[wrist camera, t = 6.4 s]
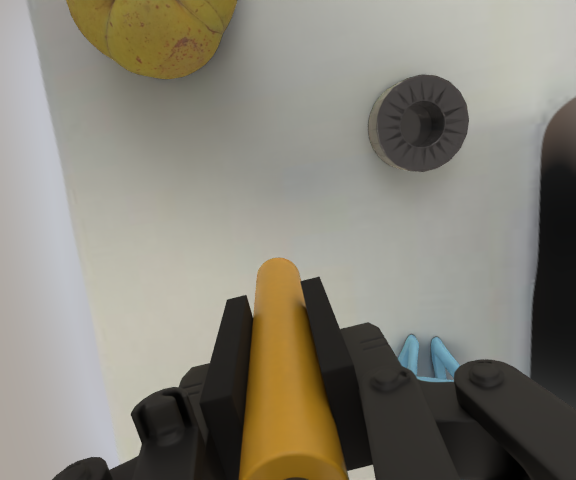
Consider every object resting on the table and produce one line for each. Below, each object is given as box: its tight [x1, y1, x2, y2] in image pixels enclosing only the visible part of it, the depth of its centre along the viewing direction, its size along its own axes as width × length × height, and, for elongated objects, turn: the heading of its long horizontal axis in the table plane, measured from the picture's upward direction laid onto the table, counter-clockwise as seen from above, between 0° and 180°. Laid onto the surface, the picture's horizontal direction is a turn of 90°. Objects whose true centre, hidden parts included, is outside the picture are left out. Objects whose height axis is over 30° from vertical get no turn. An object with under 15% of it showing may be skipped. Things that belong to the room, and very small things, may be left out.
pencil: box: [239, 258, 349, 480], centre depth 14 cm, size 2×2×15 cm
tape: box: [368, 75, 469, 172], centre depth 35 cm, size 8×8×3 cm
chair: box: [398, 335, 460, 382], centre depth 36 cm, size 8×8×12 cm
